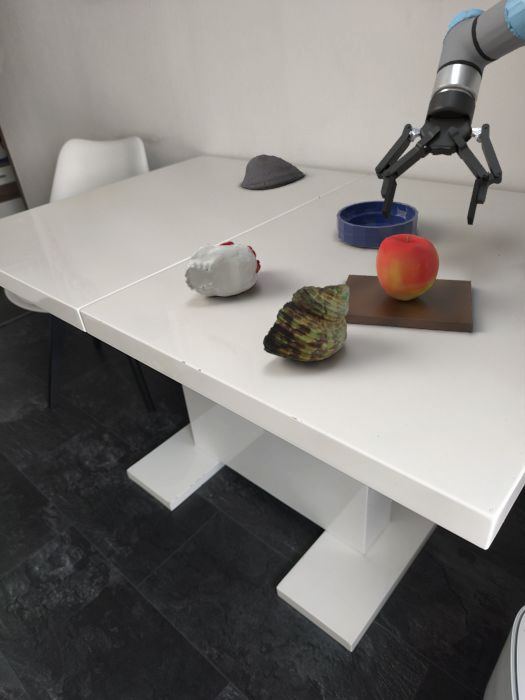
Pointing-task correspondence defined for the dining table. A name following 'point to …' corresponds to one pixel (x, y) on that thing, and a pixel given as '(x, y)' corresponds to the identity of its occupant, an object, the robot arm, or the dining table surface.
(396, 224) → the bowl
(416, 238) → the apple
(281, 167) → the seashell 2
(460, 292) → the board
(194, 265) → the white rounded lumpy piece
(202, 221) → the dining table surface
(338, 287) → the seashell
